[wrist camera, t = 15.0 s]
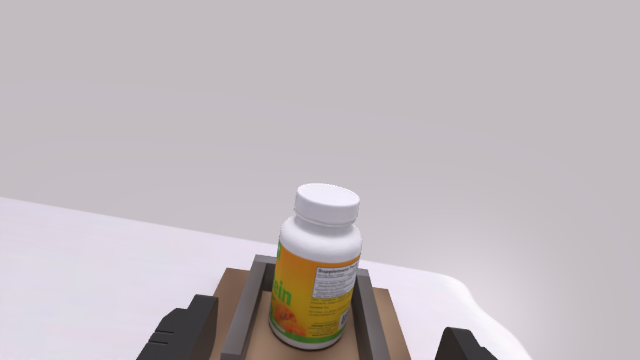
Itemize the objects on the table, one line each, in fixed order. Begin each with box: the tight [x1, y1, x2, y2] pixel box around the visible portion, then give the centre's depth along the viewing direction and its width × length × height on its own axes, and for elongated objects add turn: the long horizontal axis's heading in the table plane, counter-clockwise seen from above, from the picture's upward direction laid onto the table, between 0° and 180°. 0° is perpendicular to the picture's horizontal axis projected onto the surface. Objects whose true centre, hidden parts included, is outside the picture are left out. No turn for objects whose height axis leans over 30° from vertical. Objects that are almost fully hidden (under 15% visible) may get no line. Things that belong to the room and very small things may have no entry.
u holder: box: [209, 255, 411, 360], centre depth 23 cm, size 14×13×4 cm
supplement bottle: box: [269, 183, 362, 349], centre depth 22 cm, size 5×5×10 cm
